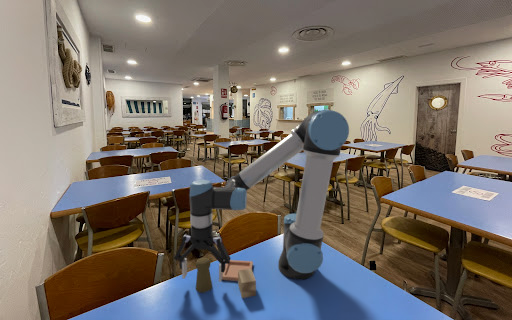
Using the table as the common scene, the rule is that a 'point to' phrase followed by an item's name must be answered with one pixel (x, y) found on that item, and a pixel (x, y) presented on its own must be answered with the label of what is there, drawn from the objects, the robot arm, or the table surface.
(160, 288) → the table surface
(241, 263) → the terracotta dish
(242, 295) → the oak block
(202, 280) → the cork
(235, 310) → the table surface
